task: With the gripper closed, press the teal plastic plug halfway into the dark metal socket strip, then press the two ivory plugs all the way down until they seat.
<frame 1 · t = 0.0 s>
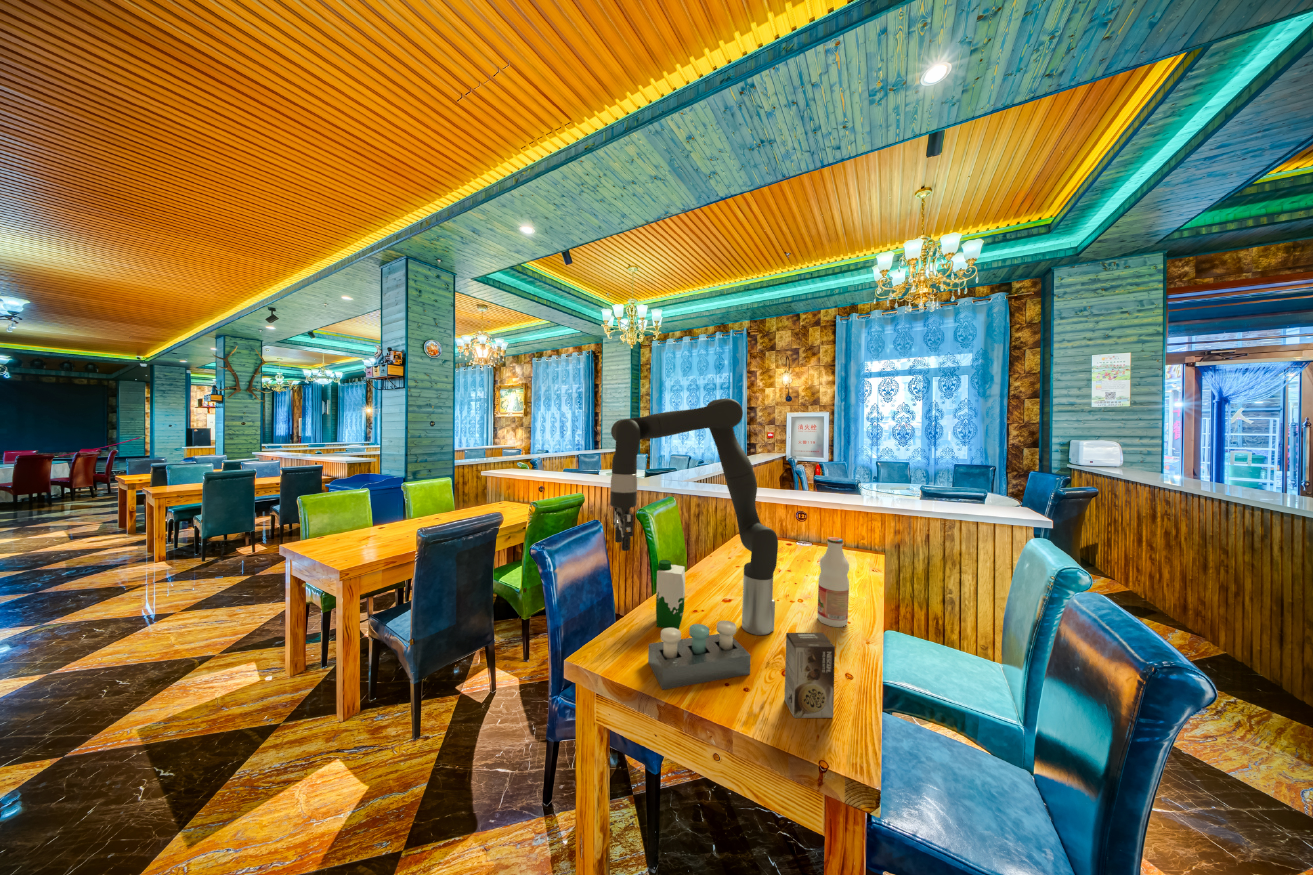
hand: (622, 546, 114), 29 cm above the table, fingers open, 8 cm apart
milk carton: (669, 624, 130), on the table
fruit juice: (832, 621, 135), on the table
plug ivory 1: (670, 643, 104), point 7 cm above the table, slide at 0.0 cm
plug teal: (699, 639, 106), point 7 cm above the table, slide at 0.0 cm
plug ivory 2: (726, 636, 108), point 7 cm above the table, slide at 0.0 cm
socket strip: (698, 667, 106), on the table
coffee box: (807, 709, 92), on the table
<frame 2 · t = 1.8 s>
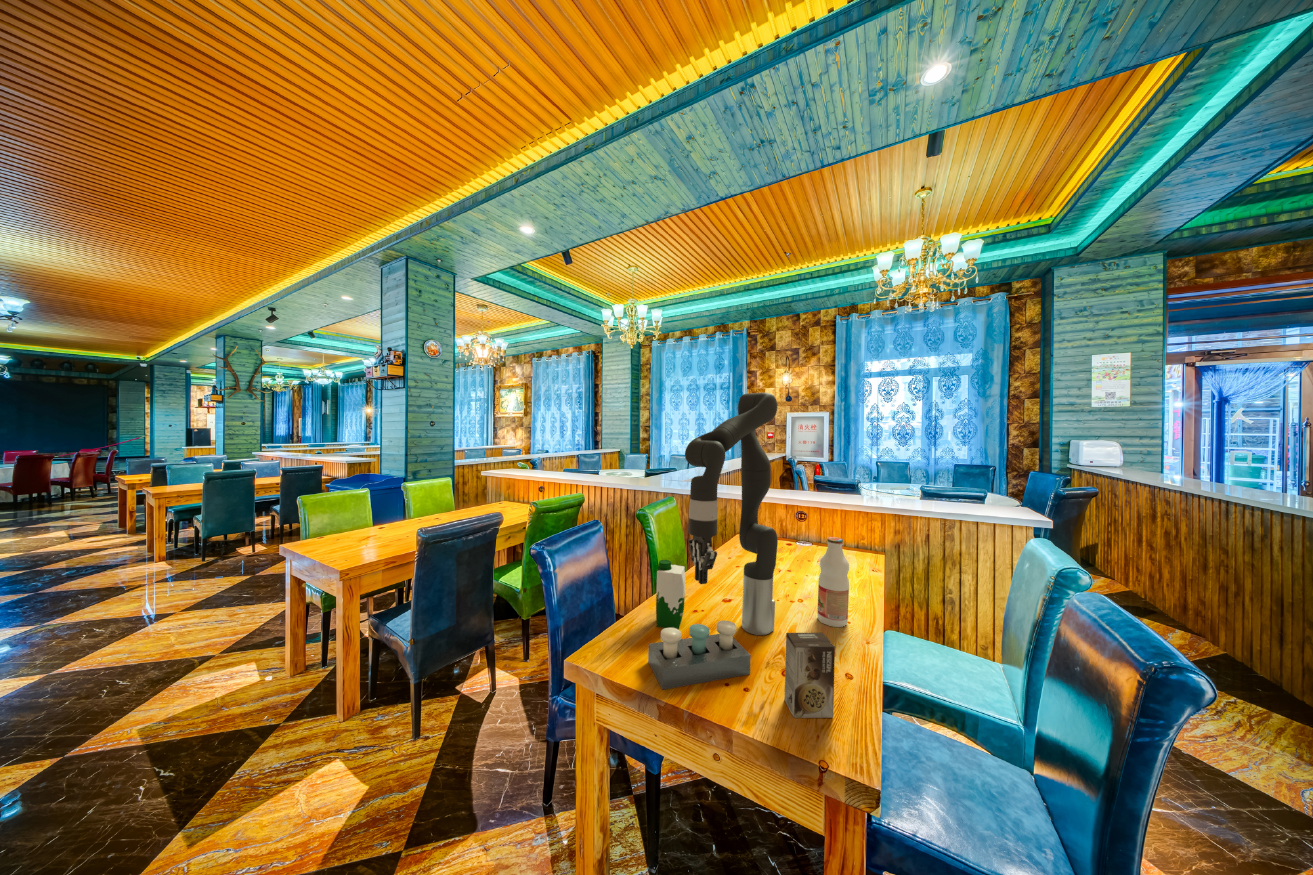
hand: (700, 581, 106), 23 cm above the table, fingers closed
nothing on the table moved.
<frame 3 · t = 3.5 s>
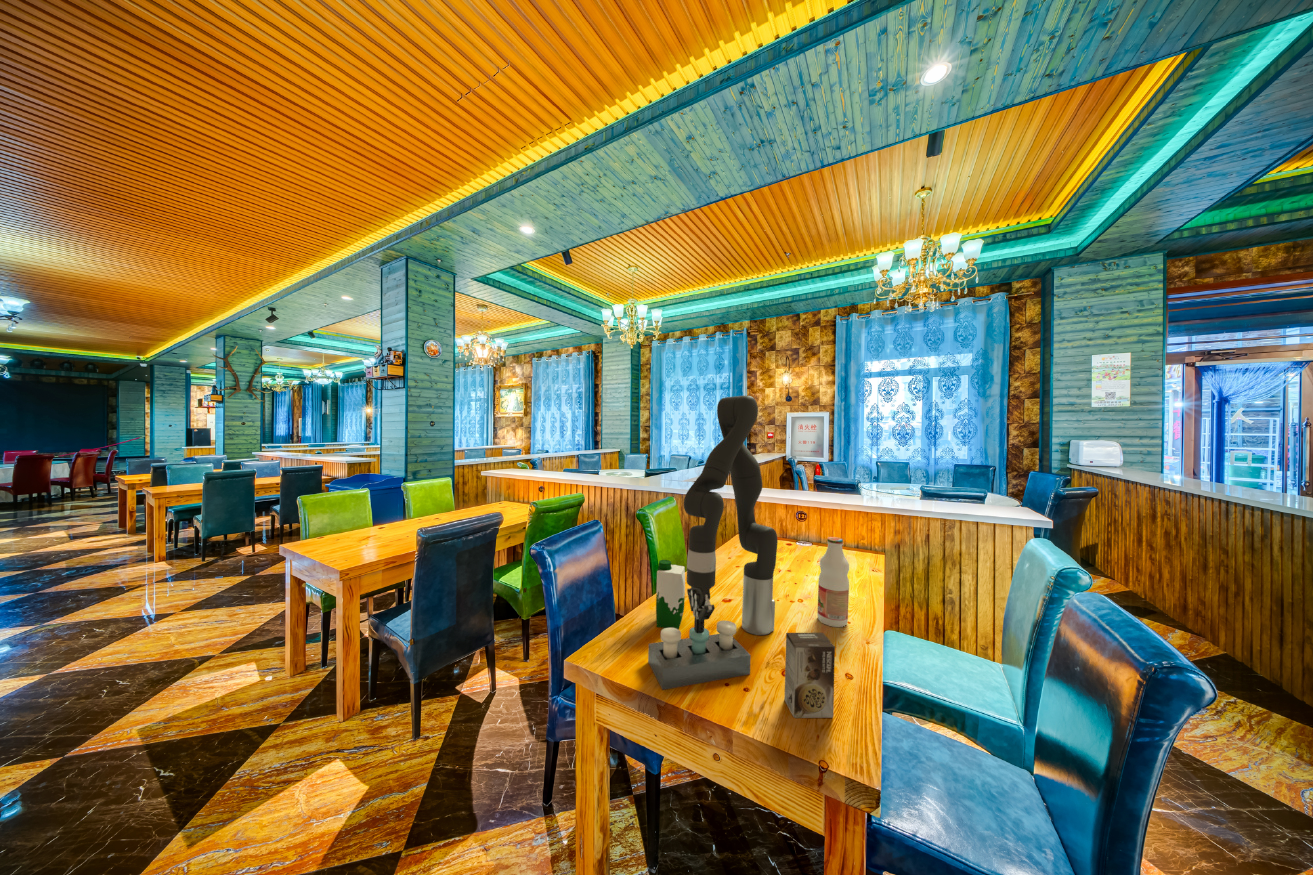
hand: (698, 631, 106), 10 cm above the table, fingers closed
plug teal: (698, 642, 106), point 7 cm above the table, slide at 0.8 cm, touching gripper
everything else where it was.
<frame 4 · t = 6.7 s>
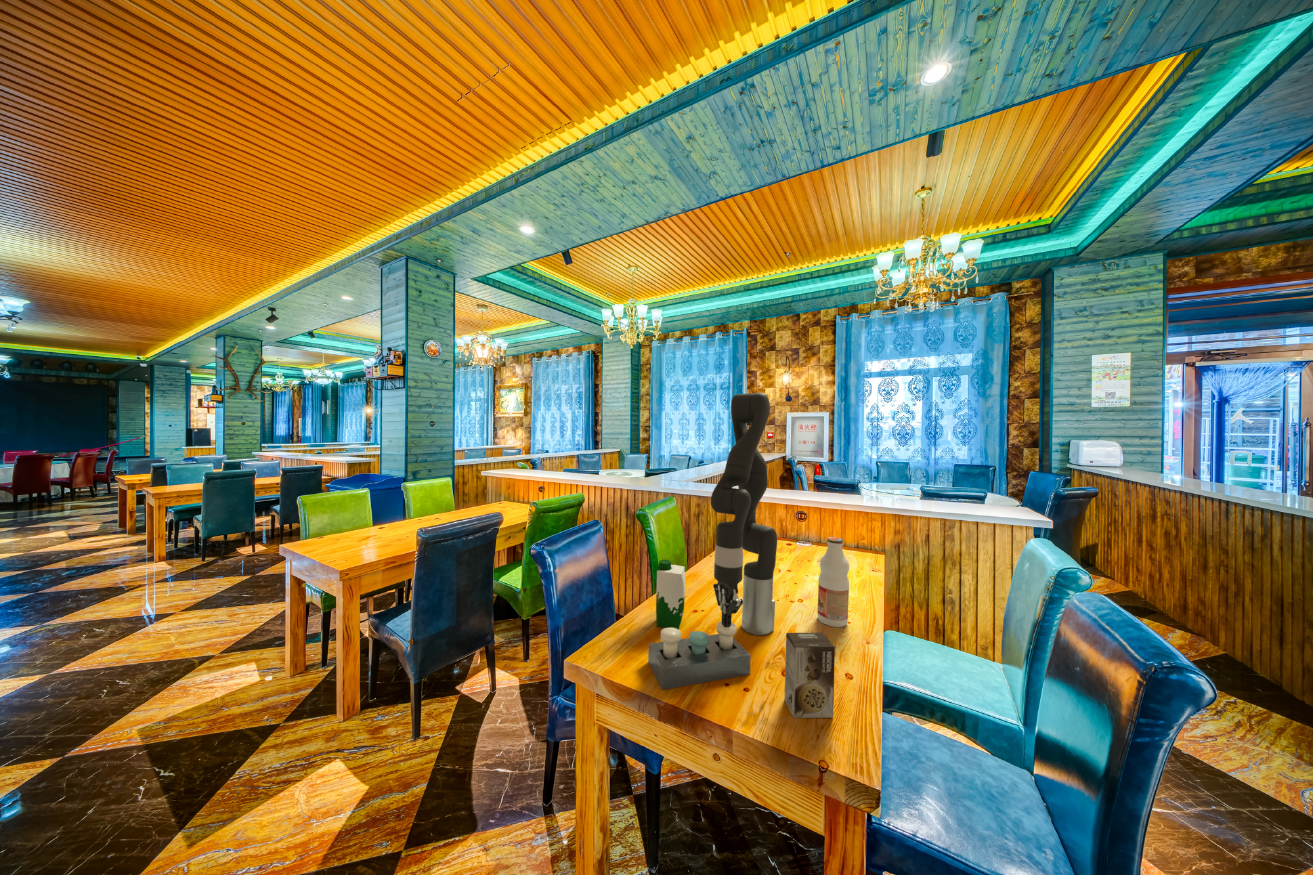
hand: (726, 625, 108), 10 cm above the table, fingers closed
plug teal: (698, 647, 106), point 6 cm above the table, slide at 2.0 cm
plug ivory 2: (726, 636, 109), point 7 cm above the table, slide at 0.2 cm, touching gripper
everything else where it was.
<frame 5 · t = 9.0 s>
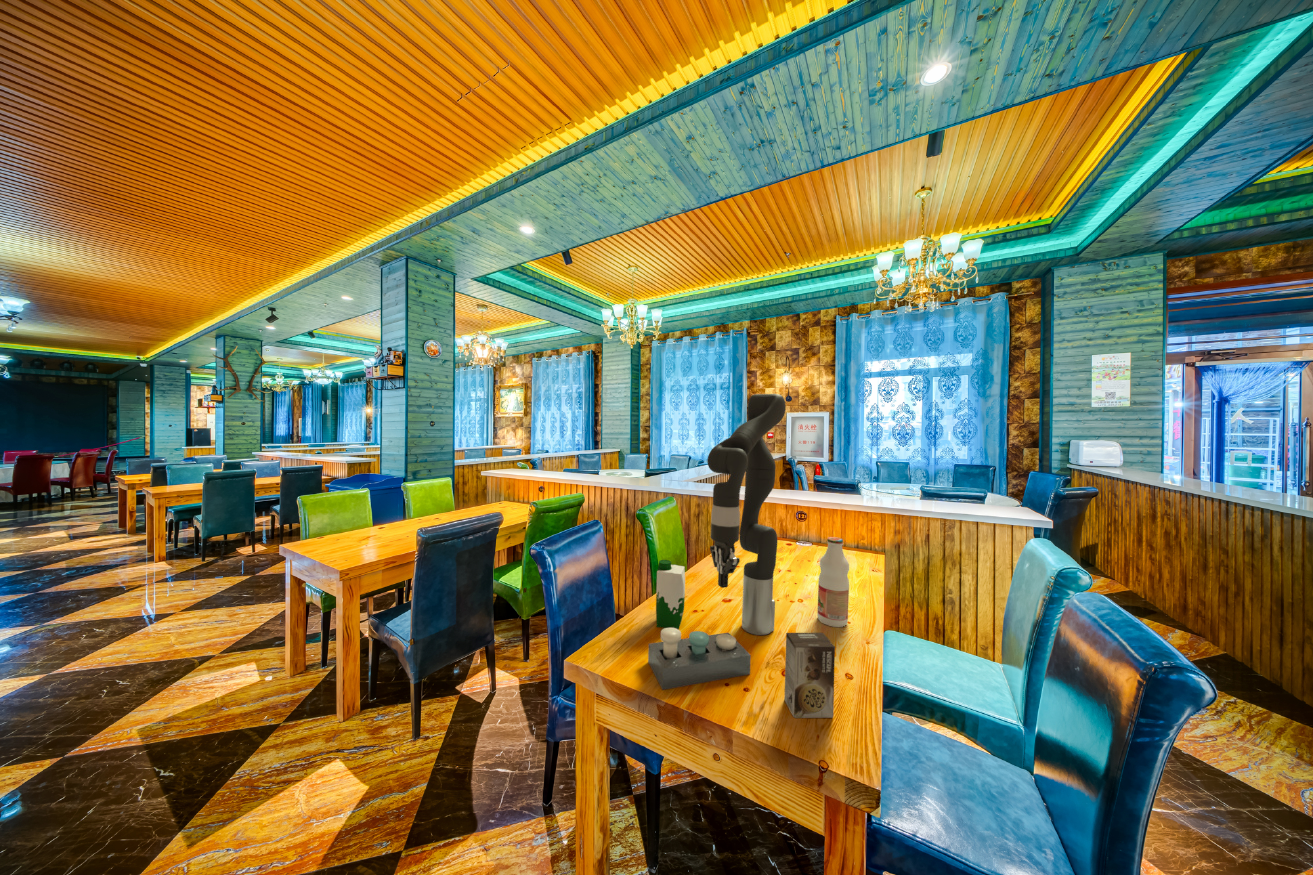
hand: (722, 586, 108), 21 cm above the table, fingers closed
plug ivory 2: (725, 649, 109), point 4 cm above the table, slide at 3.8 cm
everything else where it was.
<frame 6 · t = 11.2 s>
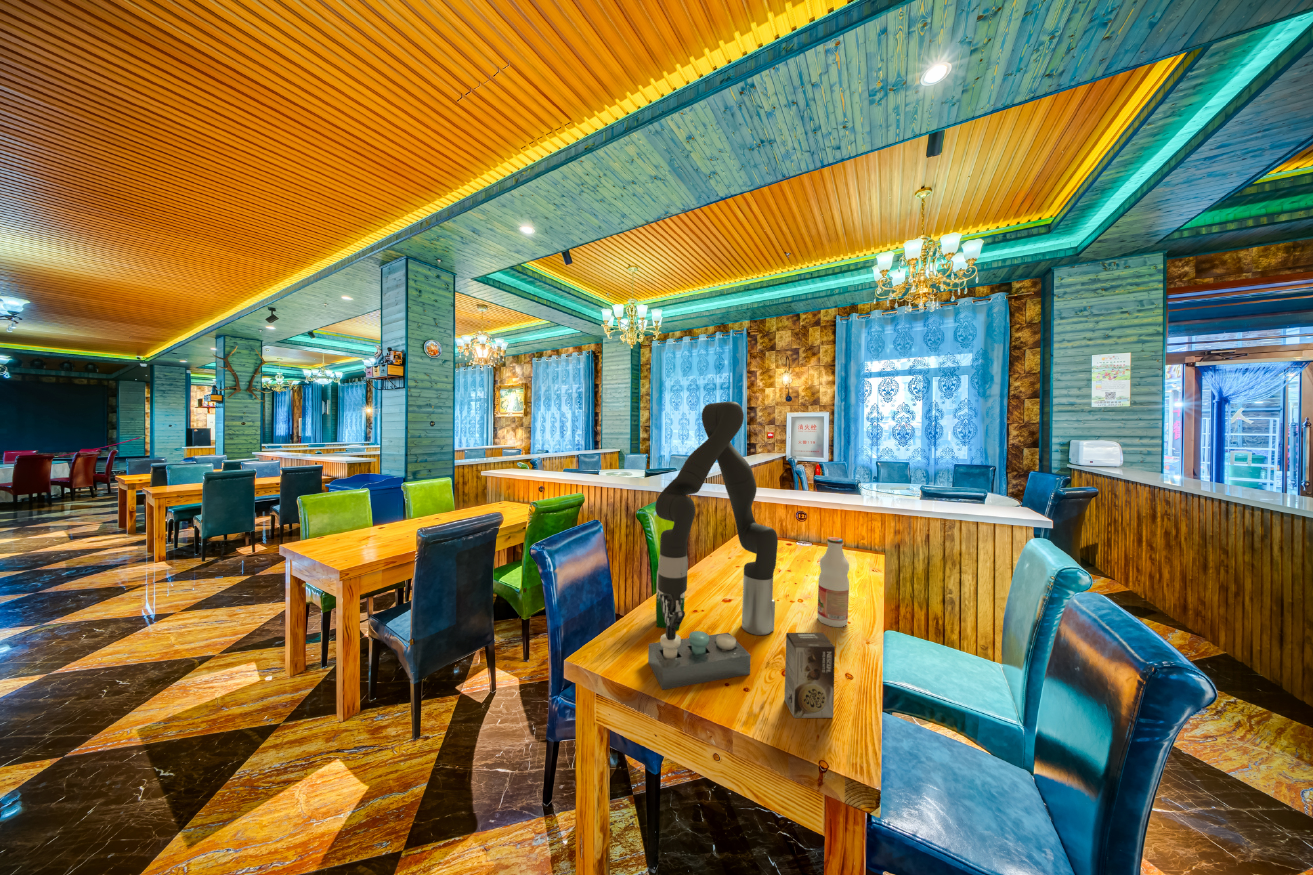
hand: (670, 638, 104), 9 cm above the table, fingers closed
plug ivory 1: (670, 649, 104), point 6 cm above the table, slide at 1.5 cm, touching gripper
everything else where it was.
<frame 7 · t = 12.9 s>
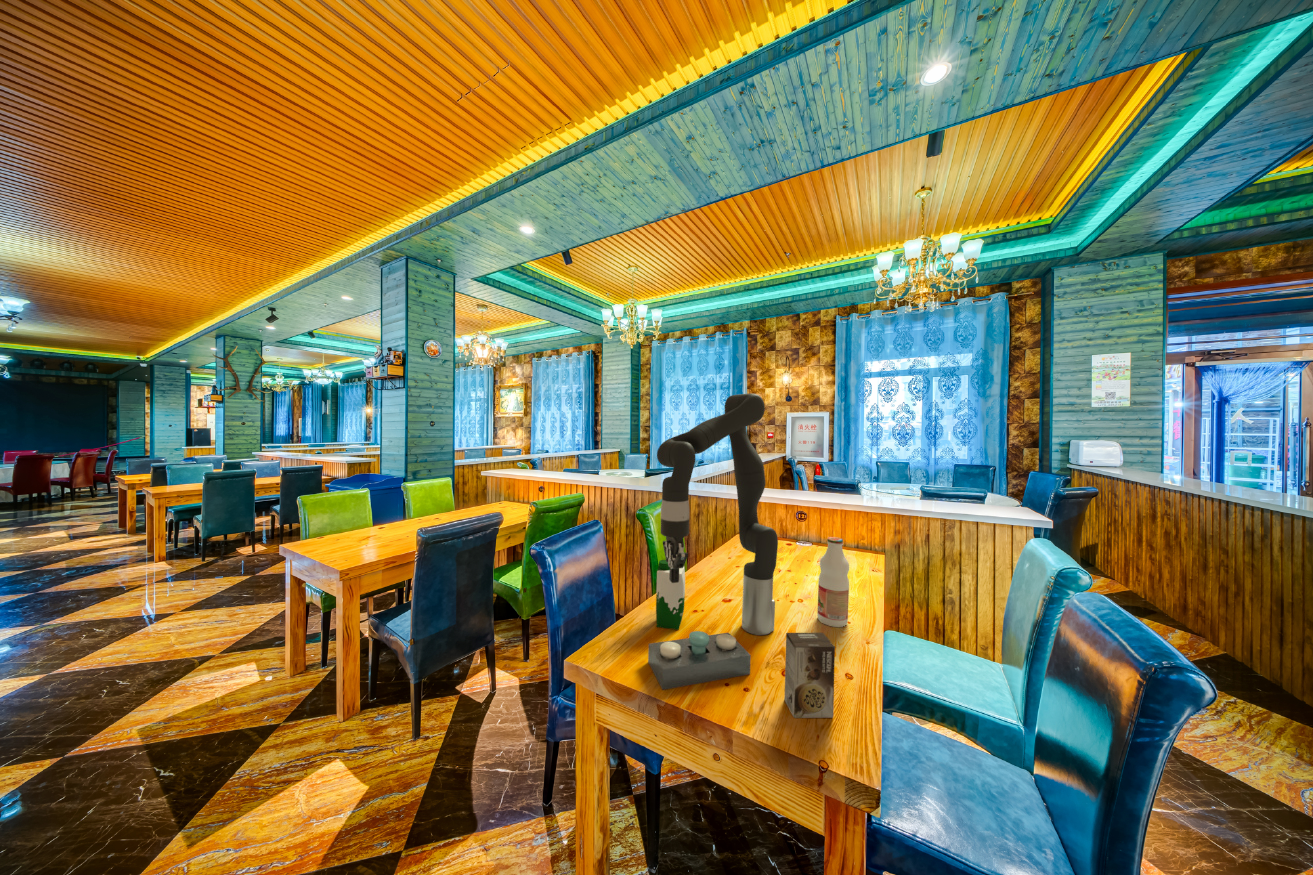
hand: (674, 581, 106), 23 cm above the table, fingers closed
plug ivory 1: (670, 658, 104), point 4 cm above the table, slide at 3.8 cm
everything else where it was.
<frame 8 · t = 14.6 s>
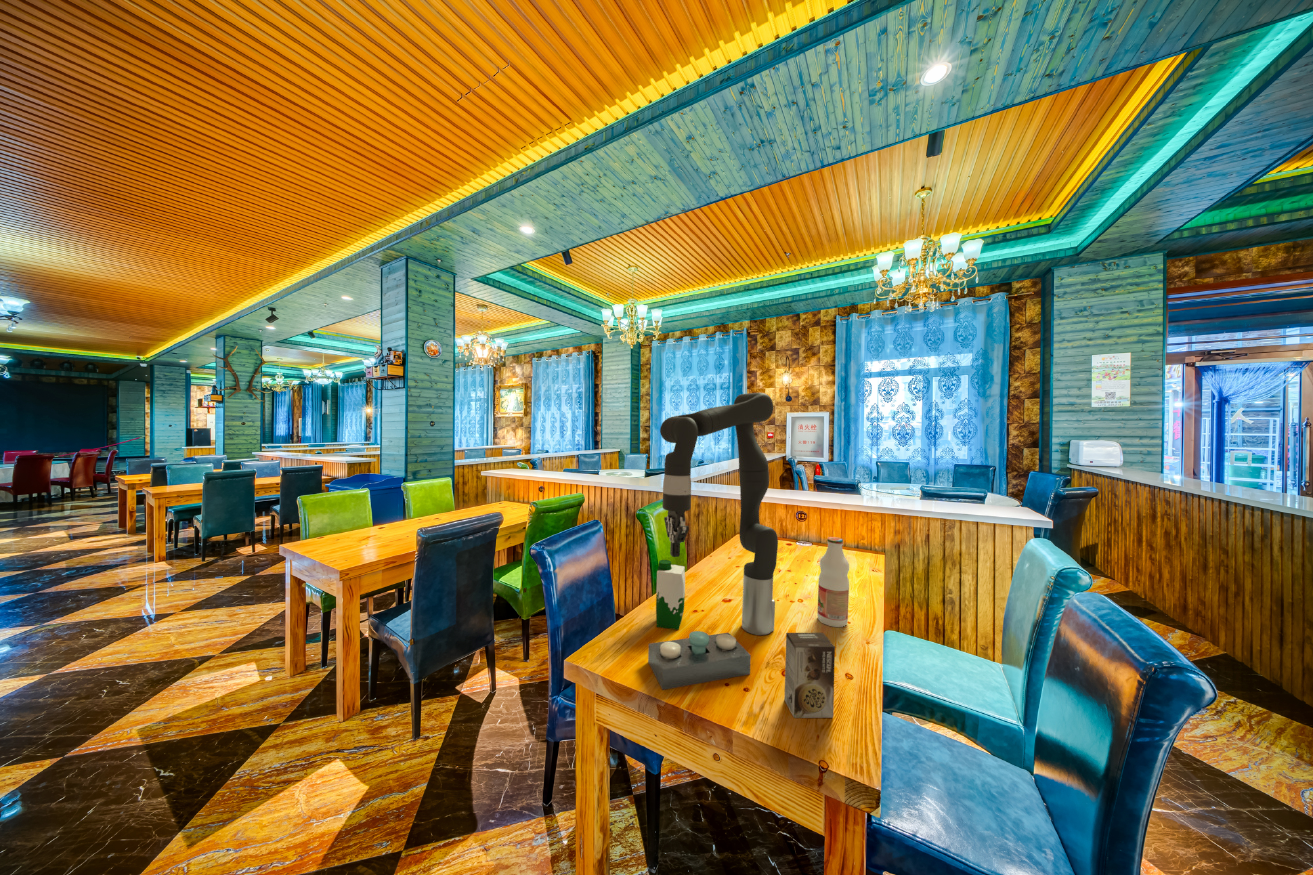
hand: (674, 555, 108), 29 cm above the table, fingers closed
nothing on the table moved.
at the end: plug teal slide at 2.0 cm; plug ivory 2 slide at 3.8 cm; plug ivory 1 slide at 3.8 cm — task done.
